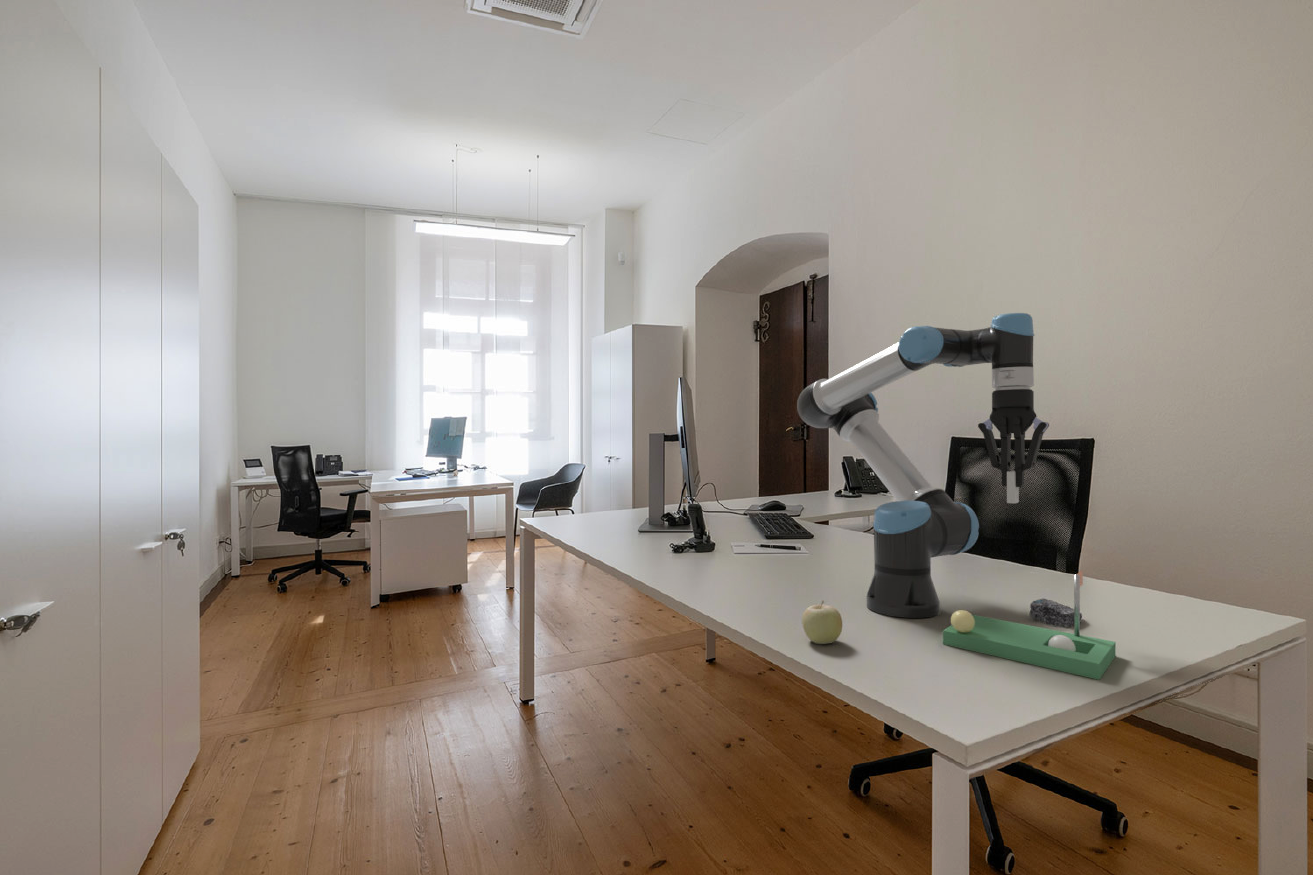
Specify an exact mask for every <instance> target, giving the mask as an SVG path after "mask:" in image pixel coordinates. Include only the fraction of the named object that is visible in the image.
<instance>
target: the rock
mask: <svg viewBox="0 0 1313 875" xmlns="http://www.w3.org/2000/svg"><path fill="white" fill-rule="evenodd" d="M1029 605H1030V606H1029V607H1030V610H1029V616H1030V617H1031V619H1033V620H1034V621H1037V622H1040V623H1043V624H1046V625H1049V626H1054V627H1060V628H1070V627H1072V626H1074V608H1071V607H1070V606H1068V605H1065V604H1064V605H1063V604H1061V603H1059V602H1057V601H1054V600H1051V599H1047V598H1039V599H1036V600H1033V601H1031V603H1030V604H1029ZM1082 614H1083V613H1081V612H1080V621H1081V620H1082V618H1083V615H1082Z"/></svg>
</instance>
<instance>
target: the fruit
mask: <svg viewBox="0 0 1313 875" xmlns="http://www.w3.org/2000/svg"><path fill="white" fill-rule="evenodd" d="M801 618H802V619H801V623H802V627H803V630H804V633H805V634H806V637H807V638H808V639H809V640H810V641H811V642H813V643H815V644H816V645H826V644H831V643H834V642H835V641H837V640H838V638H839V637H840V636H841V634H842V632H843V619H842V615H841V613H840V612H839V611H838V609H837V608H835V607H834V606H832V605H827V604H825V601H824V600H821V604H813V605H810V606H809V607H807V608H806V609H805V610H804V612H803V613H802V617H801Z"/></svg>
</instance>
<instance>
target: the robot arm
mask: <svg viewBox="0 0 1313 875" xmlns="http://www.w3.org/2000/svg"><path fill="white" fill-rule="evenodd" d="M1034 336H1035V333H1034V323H1033V317H1032V315H1031V314H1029V313H1026V312H1025V313H1024V312H1013V313H1012V312H1010V313H1003V314H998V315H996V316H994V317H992V319H991V323H990V327H986V328H980V329H979V328H978V329H972V330H963V329H953V328H944V327H934V326H929V325H921V326H911V327H909V328H907V329H906V330H905V331H904V332H903V334H902V335H901V336H900V339H899V341H898V342H896V343H894V344H893V345H891V346H888V347H886V348H885V349H883V350H881V351H879V352H878V353H876V354H873V355H871V356H870V357H868V358H866V359H864V360H862V361H860V362H857V364H855V365H853V366H851V367H849V368H847V369H846V370H844V371H842V372H840V373H837V374H836V375H834V376H832V377H830V378H820V379H818V380H815V382H813V383H811V384H809V385H807V386H806V387H805V388H803V390H802V391H801V393H800V394H799V396H798V397H797V402H796V406H797V413H798V416H799V418H800V419H801V420H802V421H803V423H805V424H806V425H808V426H810V427H813V428H816V429H832V430H834V431H835V432H836V434H837V435H838V436H839V438H840V439H841V440H842V441H844V442H848V443H849V442H850V443H852V445H853V446H854V447H855V449H856V450H857V451H858V453H859V454H860V455H861V456H862V457H863V459H864V461H865V462H866V463H867V464H868V466H869V467H870V468H871V469H872V471H873V472H874V473H875V475H876V476H877V477H878V479H879V480H880V481H881V483H882V484H883V485H884V486H885V488H886V489H887V490H888V492H890V494H891V495H892V496H893V498H894V499H895V500H896V501H891V502H890V501H889V502H885V503H883V504H880V505H878V507H876V508H875V510H874V520H873V524H872V526H873V549H874V550H873V553H874V554H873V555H874V556H873V557H874V558H873V559H874V561H873V562H874V573H873V575H872V579H871V582H870V585H869V586H868V591H867V594H866V607H867V608H868V609H870V610H871V611H873V612H875V613H878V614H881V615H884V616H888V617H889V616H890V617H896V618H903V619H904V618H906V619H924V618H925V619H926V618H931V617H935V616H937V615H939V614H940V610H941V608H940V607H941V606H940V605H941V604H940V599H939V597H938V596H939V595H938V593H937V590H936V588H935V585H934V581H933V578H932V573H931V569H932V568H931V565H932V564H931V562H932V561H931V559H932V558H938V557H941V556H942V557H943V556H948V555H949V556H954V555H957V554H960V553H963V552H966V551H968V550H970V549H971V548H972V547H973V546H974V545H975V543H976V542H977V540H978V537H979V534H980V533H979V529H980V524H979V520H978V517H977V515H976V513H975V511H974V510H973V508H971V507H970V506H969V505H967V504H965V503H963V502H960V501H959V502H957V501H953V498H951V496H949V494H948V493H947V492H946V491H945V490H944V489H943V488H939V487H933V486H932V484H930V483H929V481H928V479H926V478H925V477H924V475H923V474H922V473H921V471H919V469H918V468H917V467H916V466H915V465H914V463H913V462H912V461H911V460H910V458H909V457H908V456H907V455H906V453H904V452H903V450H902V449H901V448H900V446H899V445H898V444H897V443H896V441H894V439H893V438H892V437H891V436H890V435H889V433H888V432H887V431H886V430H885V428H883V426H882V425H881V424H880V423H879V420H880V414H879V407H877V405H878V402H877V399H876V397H875V395H874V394H873V392H875V391H878V390H879V389H882V388H883V387H886V386H888V385H891V383H892V384H893V383H894V382H896V381H899V380H901V379H902V378H905V377H906V376H908V375H911V374H914V372H917V371H920V370H922V369H924V368H926V367H929V366H931V365H934V364H936V365H937V364H938V365H939V364H940V365H941V364H942V365H943V366H945V367H949V368H952V367H955V368H956V367H957V368H958V367H959V368H960V367H961V368H962V367H965V366H973V365H980V364H991V388H993V389H995V390H994V391H992V392H991V413H990V415H989V418H988V419H987V420H985V421H983V422H979V423H978V424H977V426H978V428H979V430H980V432H981V433H982V434H983V438H984V442H985V445H986V450H987V453H988V457H989V460H990V464H991V467H992V468H993V469H994V468H995V469H998V470H999V471H1000V472H1001V485H1002V487H1006V503H1007V504H1018V503H1019V502H1020V497H1019V496H1020V495H1019V493H1020V488H1022V487H1023V488H1024V485H1025V472H1026V471H1027V470H1030V469H1034V468H1035V465H1036V461H1037V458H1038V455H1039V454H1038V453H1039V450H1040V447H1041V444H1042V440H1043V436H1044V434H1045V432H1046V431H1047V429H1048V428H1049V426H1050V423H1048V422H1047V421H1043V420H1042V419H1039V418H1038V416H1037V414H1036V412H1035V408H1034V398H1035V396H1034V395H1035V394H1034V390H1033V389H1031V388H1032V387H1034V385H1035V384H1034V383H1035V382H1034V381H1035V380H1034ZM993 425H994V426H993ZM1032 425H1033V426H1032ZM1031 426H1032V427H1033V429H1034V431H1033V433H1032V437H1031V440H1030V444H1029V448H1028V452H1027V454H1026V453H1025V451H1026V450H1025V445H1026V444H1025V439H1026V432H1027V431H1028V430H1029V428H1030V427H1031ZM994 427H995V428H996V429H997V431H998V432H999V438H1000V454H999V450H998V445H997V443H996V438H995V436H994V432H993V428H994ZM1012 434H1013V438H1014V468H1013V467H1012V462H1011V461H1012V460H1011V459H1012V458H1011V457H1012V455H1011V454H1012V451H1011V450H1012V448H1011V447H1012V444H1011V443H1012ZM1025 454H1026V455H1025ZM1025 457H1026V458H1025ZM1012 468H1013V470H1012Z"/></svg>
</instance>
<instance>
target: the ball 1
mask: <svg viewBox="0 0 1313 875" xmlns="http://www.w3.org/2000/svg"><path fill="white" fill-rule="evenodd" d="M971 614H972V613H970V612H969V611H967V610H965V609H960V610H956V611H954V612H953V613H952V614H951V616H950V624H951V625H952V626H953V627H954V629H956V630H957V631H959V632H962V633H967V632H970V631H971V630H972V629H973V628H974V626H975V620H974V617H973V616H972V615H973V614H972V615H971Z"/></svg>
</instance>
